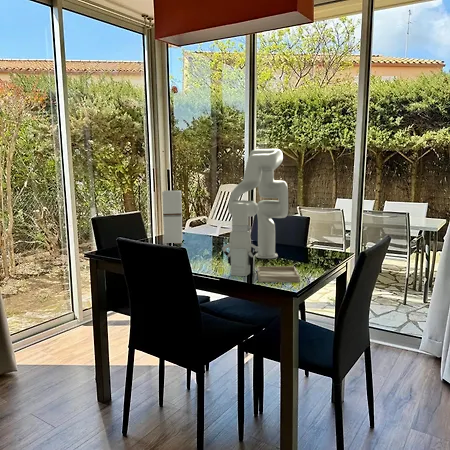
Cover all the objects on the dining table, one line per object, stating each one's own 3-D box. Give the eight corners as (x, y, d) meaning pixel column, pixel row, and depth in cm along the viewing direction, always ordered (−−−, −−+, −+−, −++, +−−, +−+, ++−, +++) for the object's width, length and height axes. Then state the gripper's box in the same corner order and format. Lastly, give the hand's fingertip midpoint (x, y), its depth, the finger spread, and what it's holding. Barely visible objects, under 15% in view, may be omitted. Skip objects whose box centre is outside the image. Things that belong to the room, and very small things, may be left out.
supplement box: (250, 273, 198) (250, 247, 196) (245, 277, 191) (244, 250, 189) (236, 271, 201) (236, 246, 199) (230, 275, 194) (230, 248, 192)
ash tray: (257, 271, 200) (257, 266, 200) (294, 271, 200) (295, 266, 199) (258, 281, 183) (258, 276, 182) (299, 282, 182) (299, 276, 181)
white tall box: (182, 243, 276) (181, 190, 271) (182, 246, 266) (180, 191, 261) (165, 243, 275) (163, 190, 270) (164, 246, 265) (162, 191, 260)
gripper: (258, 227, 196) (258, 263, 198) (222, 227, 197) (222, 263, 199) (259, 230, 189) (259, 267, 191) (221, 230, 189) (221, 266, 192)
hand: (240, 265), depth 195 cm, fingers closed on supplement box, 9 cm apart
